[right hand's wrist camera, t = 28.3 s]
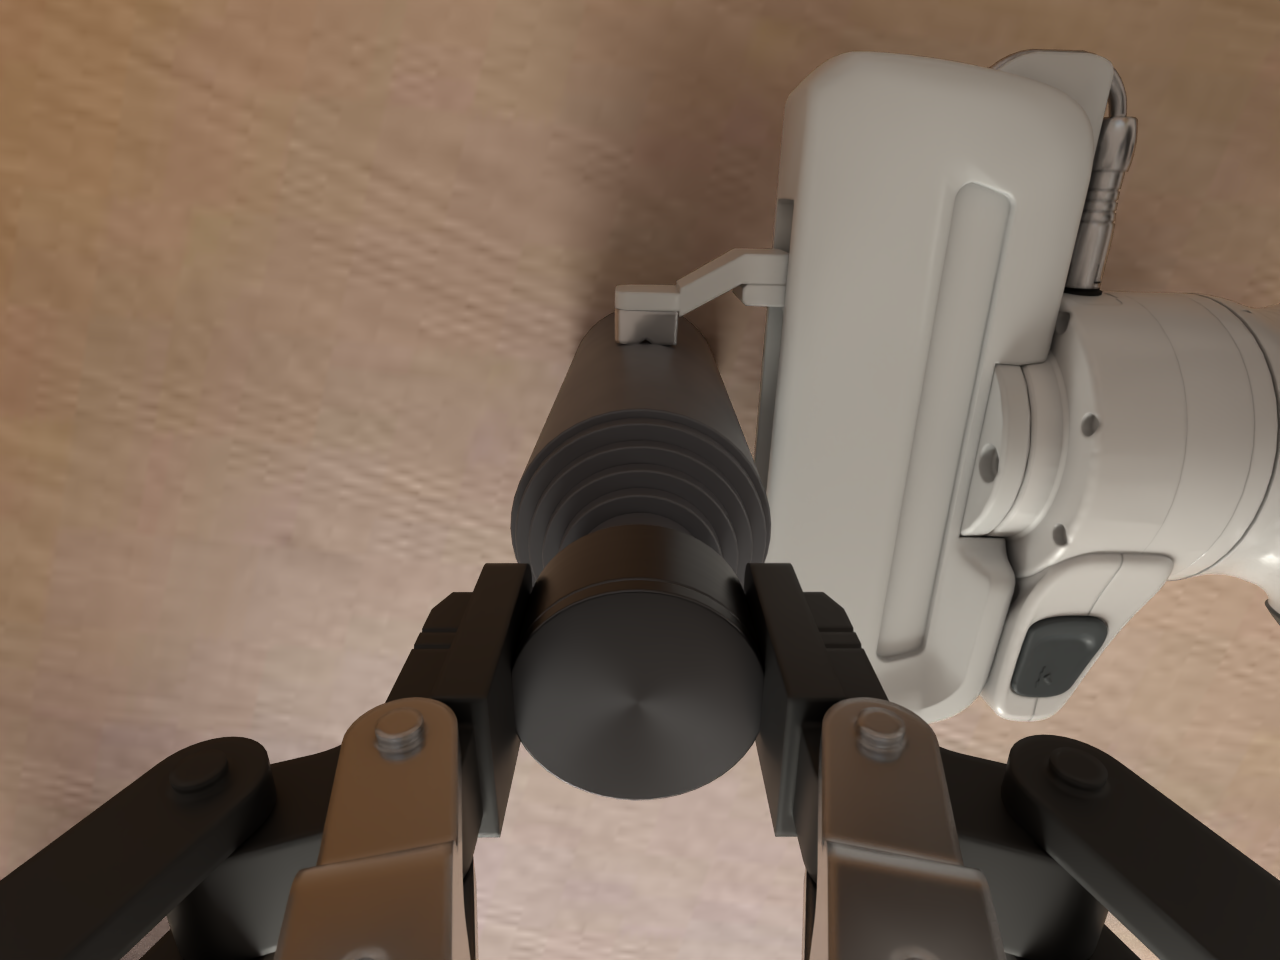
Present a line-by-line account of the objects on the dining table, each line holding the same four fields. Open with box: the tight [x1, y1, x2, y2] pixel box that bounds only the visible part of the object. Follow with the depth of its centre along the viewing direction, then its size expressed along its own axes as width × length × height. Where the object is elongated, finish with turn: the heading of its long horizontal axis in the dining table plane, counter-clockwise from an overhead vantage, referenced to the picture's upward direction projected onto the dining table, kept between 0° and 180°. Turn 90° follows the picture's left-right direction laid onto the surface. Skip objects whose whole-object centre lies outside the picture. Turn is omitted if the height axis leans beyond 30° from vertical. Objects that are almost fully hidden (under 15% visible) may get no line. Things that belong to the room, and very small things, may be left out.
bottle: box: [511, 312, 771, 590], centre depth 19 cm, size 6×6×18 cm
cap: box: [511, 524, 765, 800], centre depth 11 cm, size 4×4×2 cm
